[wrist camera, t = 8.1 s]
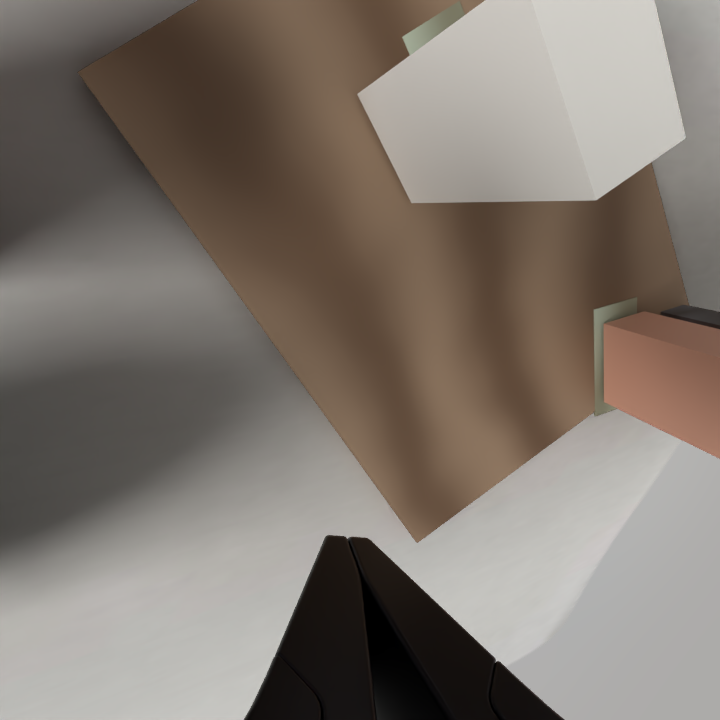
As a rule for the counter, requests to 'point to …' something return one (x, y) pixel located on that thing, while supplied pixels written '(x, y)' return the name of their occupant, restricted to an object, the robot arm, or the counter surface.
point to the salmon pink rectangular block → (666, 375)
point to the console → (384, 243)
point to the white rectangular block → (529, 103)
